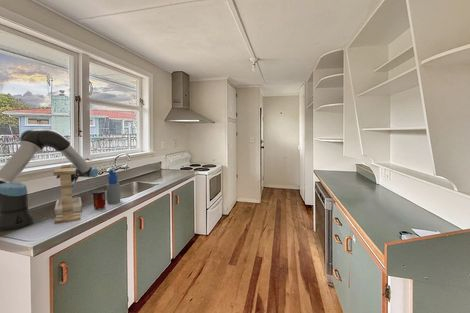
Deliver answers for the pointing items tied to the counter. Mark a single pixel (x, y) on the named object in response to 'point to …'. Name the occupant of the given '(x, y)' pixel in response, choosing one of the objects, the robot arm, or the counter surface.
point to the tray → (76, 206)
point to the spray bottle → (113, 188)
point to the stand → (66, 196)
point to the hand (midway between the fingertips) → (66, 167)
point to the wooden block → (66, 166)
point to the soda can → (99, 199)
